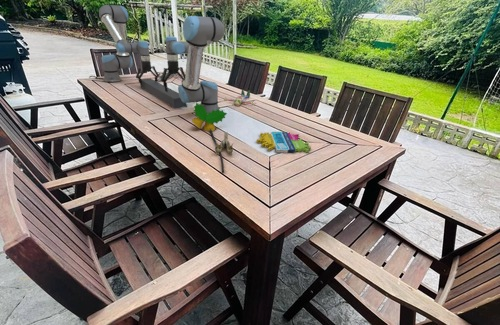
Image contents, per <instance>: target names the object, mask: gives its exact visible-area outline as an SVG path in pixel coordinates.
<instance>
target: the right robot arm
mask: <svg viewBox="0 0 500 325" xmlns="http://www.w3.org/2000/svg"><path fill="white" fill-rule="evenodd" d="M182 24H183V25H182V35H183V38H184V39H185V41H178V39H177V37H176V36H166V37H165V49H166V50H165V51H166V59H167V67H163V72H162V73H163V74H161V75H162V77H161V80H160V81H159V82H160V83H161V82H162V85H164V87H165V91H166V92H168V89H167V87H168V82H167V81H168V80H169V79H170V78H169V77H170V75H171V74H178V75H177V76H178V77H179V78H180V79H181V84H179V85H178V86H177V92H178V93H179V96H180V99H181V100H182V102H183V103H187V104H192V103H196V102H197V103H200V104H201V106H204V109H206V112H208V113H211V112H212V110H214V111H216V110H217V109H219V111H221V110H220V109H221V107H220V106H219V102H218V99H219V98H218V97H219V87H218V84H217V83H216V82H215V81H211V80H200V75H201V68H202V62H203V54H204V51H205V48H207V47H208V46H210V45H211V44H213V43H217V42H219V41H221V40H222V39H223V37H224V36H225V26H224V24H223V23H222V21H221V20H220V19H218V18H217V17H215V16H214V17H213V16H200V15H199V16H198V15H189V16H186V17H185V19H184V21H183V23H182ZM183 54H185V55H186V65H185V71H184V68H183V67H182V66H180V65H179V55H183ZM167 71H169V72H167ZM179 71H180V72H179ZM166 73H168V74H167V75H166ZM165 75H166V77H165ZM168 78H169V79H168ZM208 113H207V115H208ZM209 133H210V135H211V138H212V140H213V142H214V144H215V147H216V146H217V144H218V143H217V144H216V142H217V140H216V138H215V136H214V134H213V132H212V131H211V129H210V131H209ZM219 158H220V163H221V173H222V174H224V173H225V166H224V159H223V155H222V151H221V152H219Z"/></svg>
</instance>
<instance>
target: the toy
mask: <svg viewBox="0 0 500 325" xmlns="http://www.w3.org/2000/svg"><path fill="white" fill-rule="evenodd" d="M240 92H241V93H240V95H238V96H237V97H235V99H233V98H230V99H228V98H227V97H226V96H225V97H224V98H223V101H224V102H233V103H232V104H233V105H235V106H242V103H243V104H247V105H252V106H255V105H256V104H257V103H256V102H254V101H253V100H252V101H251V102H250V101H248V100H246V99H248V98H250V97H251V90H250V89H249V90H248V91H247V92H246V93H245V91H244V89H242V90H241V91H240Z"/></svg>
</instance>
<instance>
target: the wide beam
mask: <svg viewBox="0 0 500 325" xmlns="http://www.w3.org/2000/svg"><path fill="white" fill-rule="evenodd" d="M140 79H141V80H142V87H141V86H140V88H141V89H142V90H144V91H146V92H147V93H149V94H150V95H152V96H154V97H156V99H158V100H160V101H162V102H163V103H165V104H167V105H168V106H170V107H172V108H173V109H179V108H186V107H188V105H187V104H188V103H183V102H182V100H181V99H180V96H179V92H178V91H176V90H173V89H172V88H170V87H168V86H167V89H168V92H166V91H165V87H164V85H163V83H161V82H159V81H157V82H156V81H155V79H153V78H140Z"/></svg>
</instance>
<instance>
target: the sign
mask: <svg viewBox="0 0 500 325" xmlns="http://www.w3.org/2000/svg"><path fill="white" fill-rule="evenodd" d="M299 136H300V135H299V134H298V133H296V134H294V133H291V132H287V131H270V132H264V133H263V132H260V133H259V139H258V138H257V139H256V143H257V144H261V148H263V147H264V148H265V149H267V151H268V152H271V151H272V150H273V149H275V152H276V153H283V154H285V153H287V154H288V153H290V154H293V153H296V152H298V153H301V152H305V153H310V151H311V150H312V149H311V148H312V146H309V142H304V141H303V139H302V138H299Z"/></svg>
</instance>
